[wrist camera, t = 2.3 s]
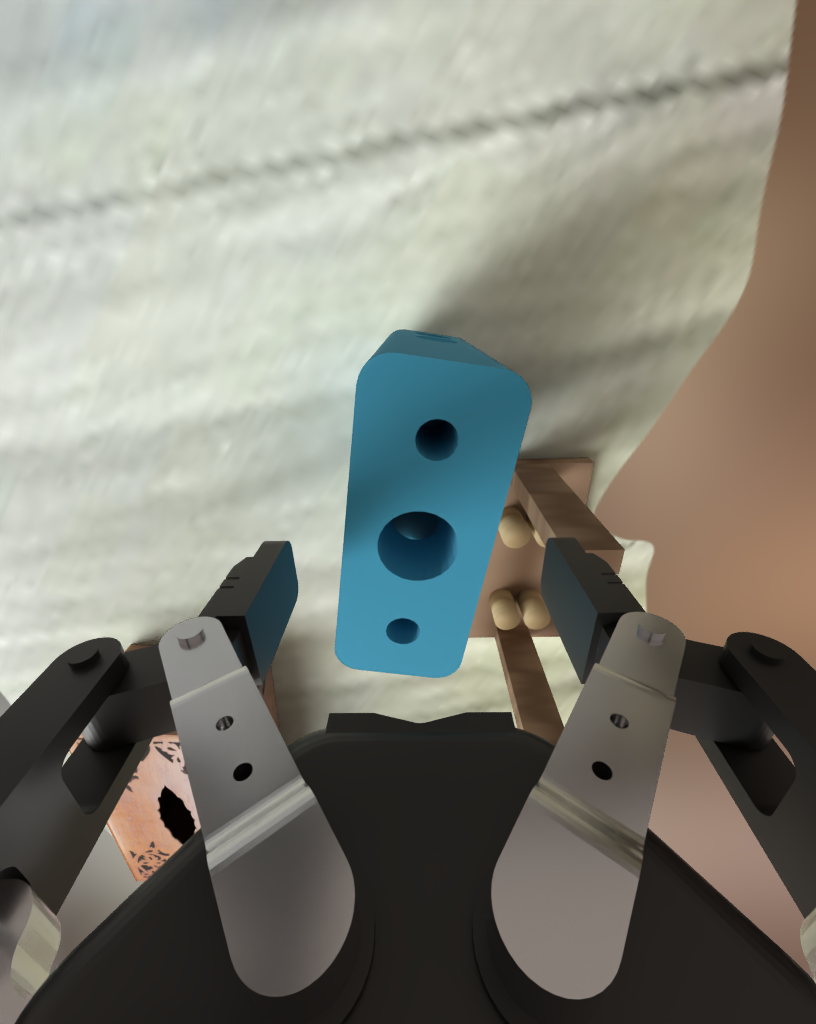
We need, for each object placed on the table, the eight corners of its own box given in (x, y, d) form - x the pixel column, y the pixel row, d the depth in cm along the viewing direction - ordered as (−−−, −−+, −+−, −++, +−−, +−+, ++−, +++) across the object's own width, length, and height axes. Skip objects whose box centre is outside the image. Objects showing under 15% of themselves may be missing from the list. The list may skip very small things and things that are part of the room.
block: (392, 323, 29) (359, 346, 11) (462, 333, 29) (540, 374, 11) (374, 479, 34) (333, 666, 16) (433, 487, 34) (456, 680, 17)
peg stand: (458, 629, 41) (477, 768, 29) (464, 460, 33) (496, 551, 21) (557, 627, 41) (620, 767, 29) (588, 457, 33) (694, 548, 21)
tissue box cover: (289, 791, 55) (265, 885, 46) (181, 787, 55) (136, 881, 46) (269, 648, 43) (232, 737, 34) (132, 642, 43) (59, 730, 34)
